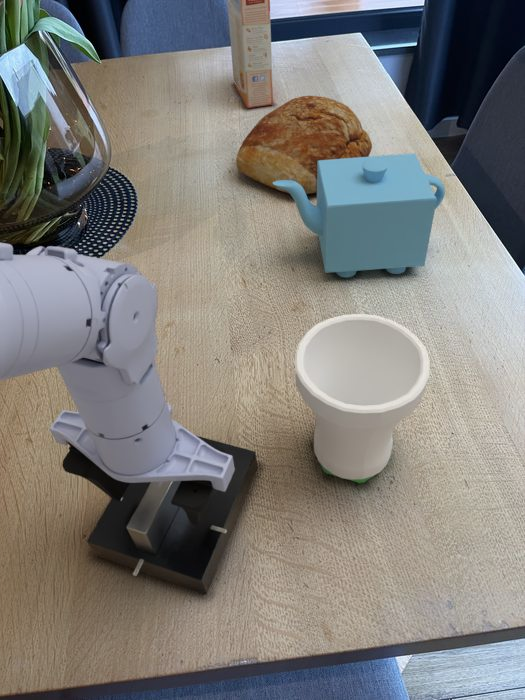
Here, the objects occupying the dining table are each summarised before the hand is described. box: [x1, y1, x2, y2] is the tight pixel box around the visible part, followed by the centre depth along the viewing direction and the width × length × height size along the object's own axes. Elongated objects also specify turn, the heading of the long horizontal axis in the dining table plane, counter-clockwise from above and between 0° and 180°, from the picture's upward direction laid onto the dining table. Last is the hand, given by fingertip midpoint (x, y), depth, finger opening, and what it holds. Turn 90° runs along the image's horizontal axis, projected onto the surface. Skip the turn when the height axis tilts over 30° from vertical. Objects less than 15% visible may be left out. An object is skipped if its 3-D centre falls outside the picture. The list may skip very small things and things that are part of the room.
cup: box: [294, 313, 431, 484], centre depth 51 cm, size 11×11×14 cm
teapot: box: [273, 153, 446, 278], centre depth 74 cm, size 22×11×14 cm, turn 92°
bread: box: [236, 95, 373, 195], centre depth 92 cm, size 20×18×10 cm
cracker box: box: [226, 0, 274, 109], centre depth 111 cm, size 14×6×21 cm, turn 13°
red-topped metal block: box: [127, 481, 181, 554], centre depth 48 cm, size 8×2×4 cm, turn 160°
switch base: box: [86, 435, 258, 595], centre depth 52 cm, size 14×12×3 cm
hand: (160, 502), depth 48 cm, fingers open, 7 cm apart
